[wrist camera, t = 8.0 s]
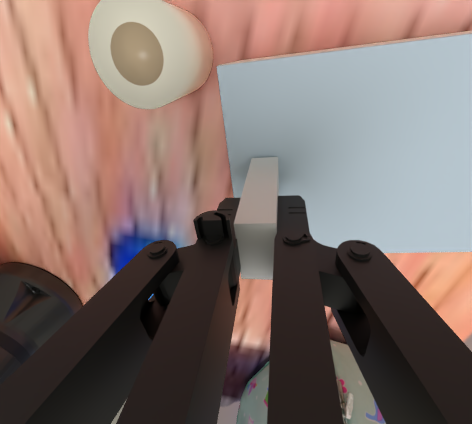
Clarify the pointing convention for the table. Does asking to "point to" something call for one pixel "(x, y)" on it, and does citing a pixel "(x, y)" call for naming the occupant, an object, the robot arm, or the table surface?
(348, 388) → the lunch box
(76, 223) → the table surface
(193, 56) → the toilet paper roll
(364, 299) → the robot arm
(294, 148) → the lid
